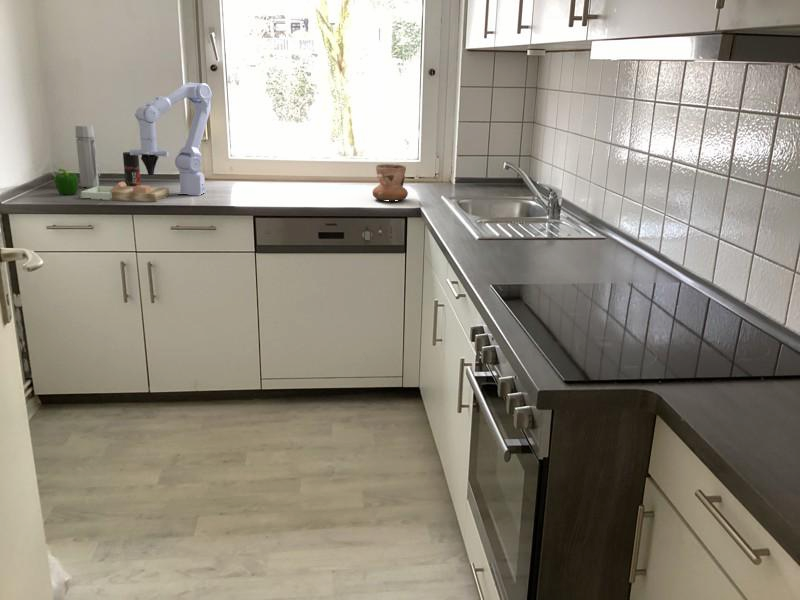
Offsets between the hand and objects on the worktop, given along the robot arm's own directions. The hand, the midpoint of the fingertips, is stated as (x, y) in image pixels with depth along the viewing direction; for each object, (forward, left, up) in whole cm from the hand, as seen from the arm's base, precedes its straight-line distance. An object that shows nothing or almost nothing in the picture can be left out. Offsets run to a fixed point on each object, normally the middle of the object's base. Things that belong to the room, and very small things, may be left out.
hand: (151, 174), depth 274 cm
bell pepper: (+34, -1, -10) cm, 36 cm away
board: (+5, -1, -9) cm, 11 cm away
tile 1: (+15, -5, -7) cm, 17 cm away
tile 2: (+3, +2, -6) cm, 7 cm away
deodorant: (+15, -18, -10) cm, 26 cm away
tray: (+20, -1, -9) cm, 22 cm away
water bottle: (+33, -19, -10) cm, 40 cm away
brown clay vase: (-92, -20, -10) cm, 95 cm away
